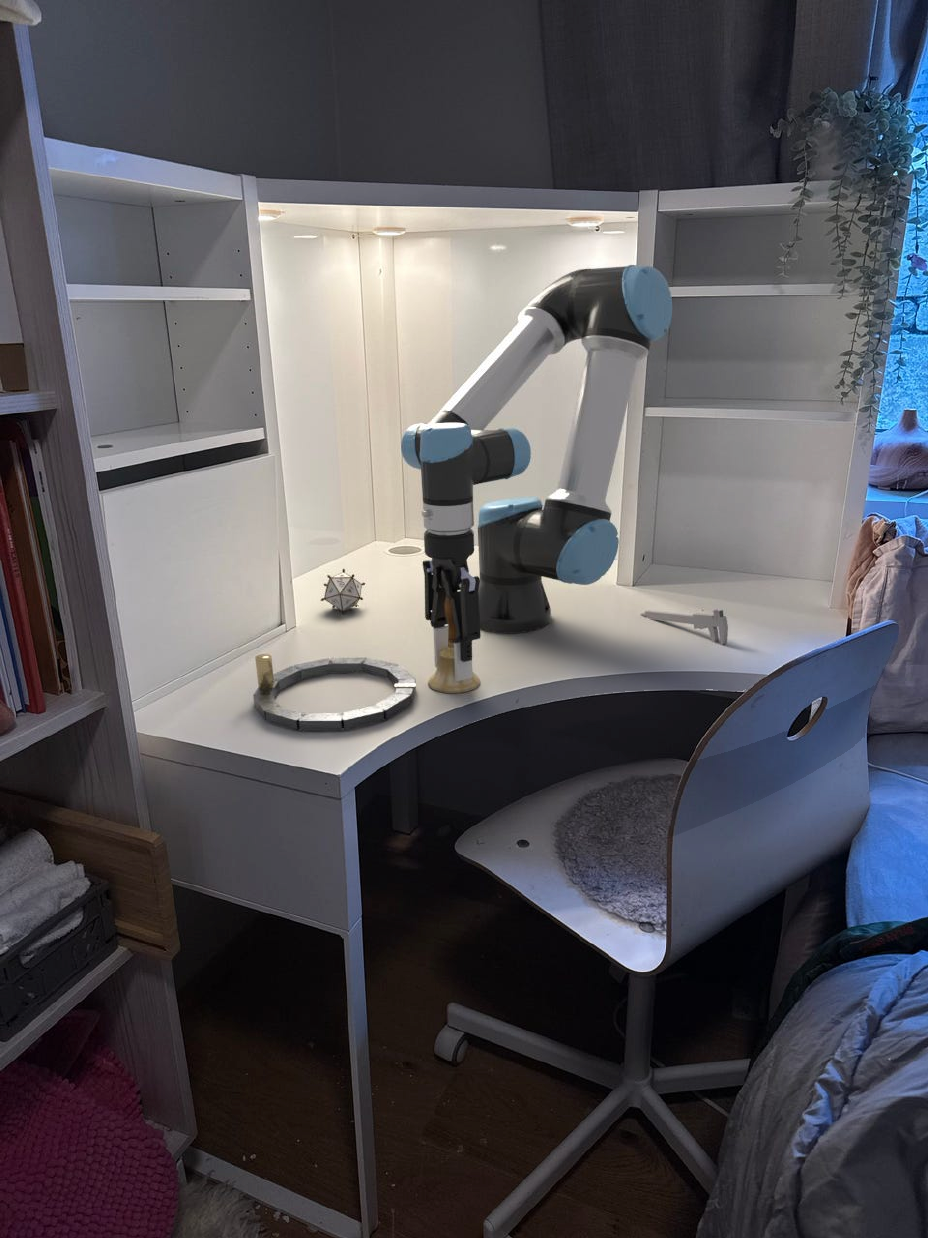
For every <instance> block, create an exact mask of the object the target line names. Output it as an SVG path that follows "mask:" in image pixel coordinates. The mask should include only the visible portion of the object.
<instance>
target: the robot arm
mask: <svg viewBox="0 0 928 1238" xmlns="http://www.w3.org/2000/svg"><path fill="white" fill-rule="evenodd" d="M672 316H673V300H672V292H671V290H670V287H669V283H668V281H667V280H666V278H665V276H664V275H663V273H662V272H661V271H660V270H658V269H657V268H655V267H654V266H650V265H636V264H629V265H625V266H612V267H601V268H600V267H599V268H598V267H597V268H581V269H577V270H574V271H570V272H569V273H566V274H565V275H563V276H560V278H557V279H556V280H555V281H554V282H552V283H551V284H549V285H548V286H547V287H545V288H544V289H543V290H542V291H541V292H539V293H538V294H537V295H536V296H535V297H534V298H533V299H532V300H531V301H530V302H529V303H528V304H527V305H526V306H525V308H523V309H522V310H521V312H520V313H519V315H518V317H517V325H516V326H515V327H514V328H513V329H512V331H510V332H509V333H508V335H507V336H506V337H505V338H504V339H503V340H502V341H501V343H500V344H499V345H498V346H497V347H496V348H495V349H494V350H493V352H492V353H491V354H489V356H488V357H487V358H486V359H485V360H484V361H483V362H482V364H481V365H480V366H479V367H478V368H477V369H476V371H474V373H473V374H472V375H471V376H470V377H469V378H468V379H467V380H466V381H465V382H464V384H462V386H461V387H460V388H459V389H458V390H457V392H456V393H455V394H454V395H453V396H452V397H451V398H450V399H449V400H448V402H446V404H444V406H443V407H442V408H441V409H440V411H439V412H438V413H437V414H436V415H434V417H433V418H432V419H431V420H430V421H429V422H427V423H426V422H422V423H416V424H413V425H411V426H409V427H408V428H407V429H406V430H405V432H404V433H403V436H402V438H401V443H400V451H401V455H402V457H403V459H404V461H405V462H406V464H407V465H408V466H410V467H411V468H413V469H417V470H420V474H421V489H422V490H421V495H422V511H421V516H422V517H423V527H424V528H425V529H426V530H425V532H424V533H423V542H424V544H423V546H424V554H425V556H426V557H428V558H430V559H426V560H423V561H422V569H423V574H424V619H426V621H430V625H431V627H432V628H433V648H434V649H433V653H434V667H435V668H436V669H437V666H438V662H439V653H440V651H441V650H442V649H444V648H446V647H448V622H447V619H446V616H445V599H446V596H447V598H449V599H450V602H451V608H452V613H453V619H454V625H455V630H456V636H457V639H453V642H454V661H455V680H456V681H461V680H465V679H469V678H473V677H472V671H473V641H476V640H480V639H481V630H484V631H486V632H487V631H488V632H492V633H493V632H494V633H503V634H515V633H517V634H518V633H528V632H533V631H537V630H539V629H540V630H541V629H543V628H545V627H546V626H547V625H549V624H550V623H551V622H552V621H551V620H552V612H551V611H552V608H551V606H550V602H549V600H548V599H549V598H548V597H547V594H546V590H545V587H544V584H543V581H542V579H543V578H546V579H547V578H548V579H550V580H555V581H560V582H561V583H565V584H570V585H571V584H572V585H573V584H575V585H580V586H589V585H591V584H595V583H597V581H599V580H600V579H601V578H602V577H603V576H605V575H606V574H607V572H609V570H610V569H611V567H612V565H613V564H614V561H615V559H616V557H617V553H618V550H619V543H620V540H619V537H618V535H619V533H618V528H616V526H615V524H614V523H613V522H611V517H612V510H611V508H610V507H609V505H608V504H607V501H606V498H607V494H608V490H609V486H610V482H611V479H612V473H613V469H614V464H615V459H616V455H617V451H618V447H619V442H620V438H621V432H622V431H623V430H622V429H623V426H624V421H625V416H626V412H627V408H628V404H629V398H630V396H631V395H630V394H631V390H632V386H633V381H634V377H635V373H636V369H637V365H638V363H639V362H641V361H642V360H643V359H645V358H646V357H647V356H648V355H649V353H650V348H651V345H652V341H658V339H661V338H663V337H664V336H665V333H667V331H668V330H669V328H670V325H671V322H672ZM577 340H581V341H580V342H581V345H582V346H583V348H584V350H585V351H586V353H587V354H586V358H585V359H586V360H585V364H584V368H583V371H582V372H583V373H582V376H581V381H580V385H579V389H578V394H577V398H576V403H575V407H574V412H573V416H572V421H571V426H570V430H569V433H568V434H569V435H568V438H567V442H566V448H565V453H564V455H563V461H562V465H561V470H560V475H559V478H558V479H559V480H558V482H557V487H556V490H555V491H554V492H553V493H551V494H549V495H548V496H547V497H546V498H545V500H544V501H545V502H544V506H543V502H542V500H541V498H539V497H515V498H507V499H500V500H495V501H491V502H487V503H485V504H483V505H482V506H481V507H480V509H479V511H478V522H477V523H478V524H477V539H478V540H477V542H478V563H479V564H478V566H479V576H478V575H477V576H476V575H475V576H472V575H471V574H470V573H469V572H470V568H469V566H468V558H469V557H470V556H472V555H473V554H474V553H475V535H474V534H475V532H474V530H473V529H472V528H473V526H475V525H474V524H475V521H474V520H475V519H474V518H475V516H474V485H475V486H476V485H480V484H485V483H489V482H490V483H491V482H496V481H501V480H509V479H510V478H513V477H516V476H519V475H521V474H523V473H524V472H525V471H527V469H528V467H529V465H530V462H531V457H532V456H531V455H532V452H531V445H530V442H529V440H528V438H527V437H526V435H525V434H524V433H523V432H522V431H520V430H519V429H516V428H502V427H501V428H498V429H495V430H489V429H488V430H487V429H486V428H487V427H488V426H489V424H491V423H492V421H493V420H494V419H495V417H497V415H498V414H499V413H500V411H501V410H502V409H503V408H504V407H505V406H506V405H507V403H509V401H510V400H511V399H512V398H513V397H514V395H516V394H517V392H518V391H519V390H520V389H521V388H522V387H523V385H524V384H525V383H526V382H527V381H528V380H529V378H530V377H531V376H532V375H533V374H534V373H535V371H537V369H538V368H539V367H540V366H541V364H543V362H544V361H545V360H546V359H547V357H548V356H549V355H550V356H551V355H556V354H557V353H559V352H560V351H561V350H562V349H563V348H564V347H565V346H566V345H567V344H569V343H571V342H574V341H577ZM542 577H543V578H542ZM453 591H458V592H453Z"/></svg>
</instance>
